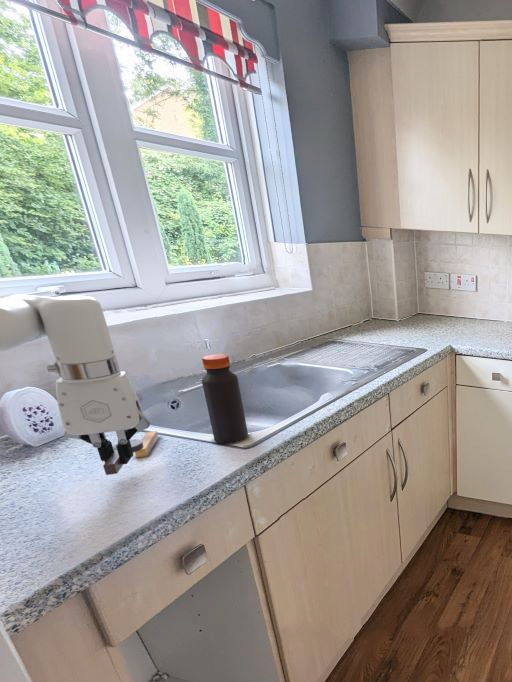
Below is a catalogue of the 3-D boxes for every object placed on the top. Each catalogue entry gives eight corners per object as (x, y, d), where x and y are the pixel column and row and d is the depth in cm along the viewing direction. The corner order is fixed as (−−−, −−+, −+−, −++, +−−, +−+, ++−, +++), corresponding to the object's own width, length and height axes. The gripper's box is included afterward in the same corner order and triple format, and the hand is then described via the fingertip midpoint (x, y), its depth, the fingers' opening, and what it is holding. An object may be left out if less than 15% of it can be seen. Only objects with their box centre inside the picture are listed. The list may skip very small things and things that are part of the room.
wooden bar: (147, 456, 97) (145, 448, 97) (136, 457, 96) (134, 450, 96) (158, 437, 106) (156, 430, 105) (148, 439, 105) (146, 432, 104)
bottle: (237, 430, 111) (222, 351, 104) (254, 436, 108) (240, 356, 102) (208, 440, 106) (189, 357, 99) (225, 447, 103) (207, 362, 96)
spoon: (127, 472, 83) (124, 462, 82) (95, 476, 81) (92, 467, 80) (146, 443, 93) (143, 434, 93) (118, 446, 91) (116, 437, 91)
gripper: (17, 379, 72) (54, 479, 79) (140, 370, 79) (166, 463, 85) (38, 367, 79) (72, 460, 85) (151, 359, 85) (174, 447, 92)
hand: (119, 461), depth 85 cm, fingers closed on spoon, 1 cm apart
